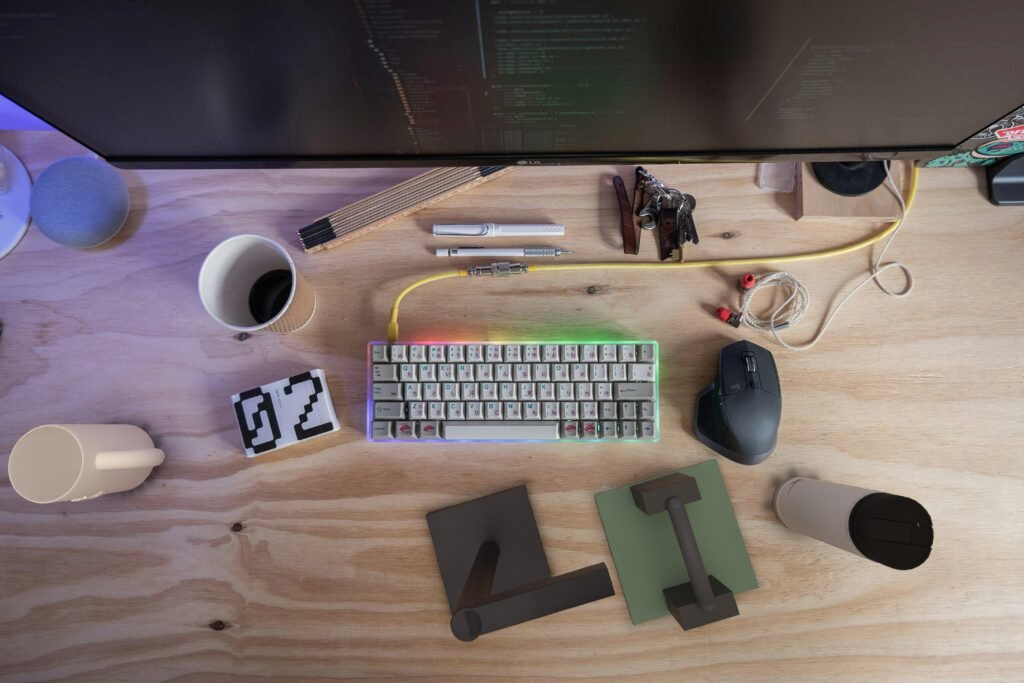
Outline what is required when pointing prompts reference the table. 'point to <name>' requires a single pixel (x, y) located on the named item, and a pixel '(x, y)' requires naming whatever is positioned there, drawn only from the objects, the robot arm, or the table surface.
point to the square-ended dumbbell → (686, 554)
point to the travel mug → (857, 520)
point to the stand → (503, 566)
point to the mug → (81, 461)
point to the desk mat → (673, 543)
